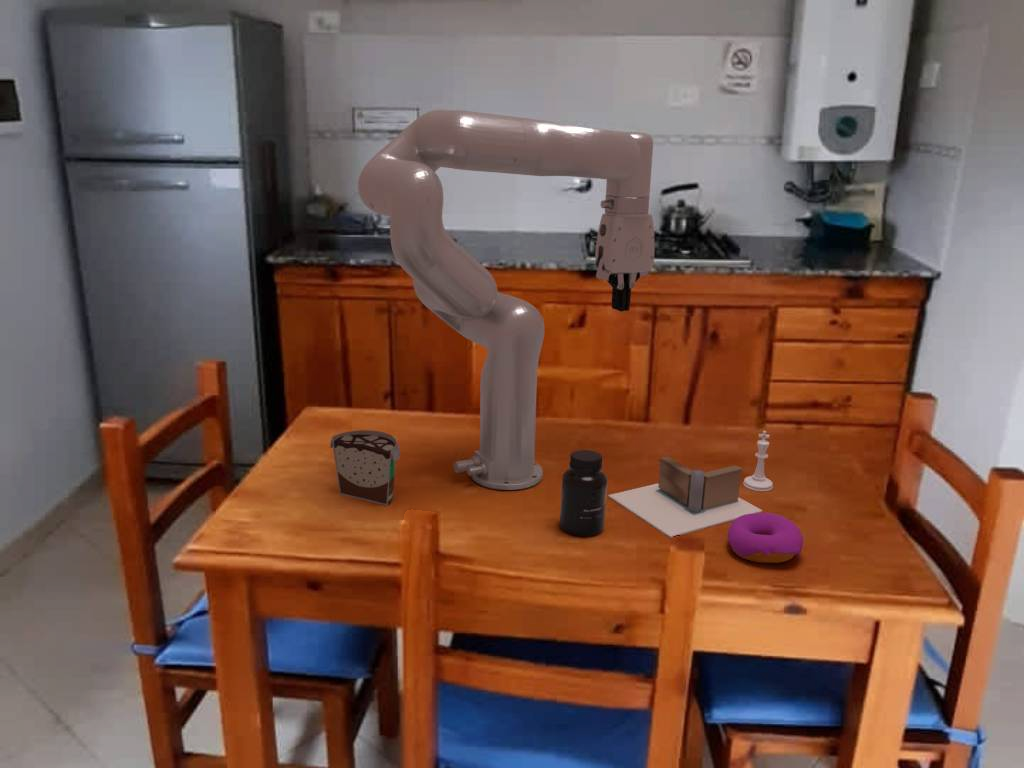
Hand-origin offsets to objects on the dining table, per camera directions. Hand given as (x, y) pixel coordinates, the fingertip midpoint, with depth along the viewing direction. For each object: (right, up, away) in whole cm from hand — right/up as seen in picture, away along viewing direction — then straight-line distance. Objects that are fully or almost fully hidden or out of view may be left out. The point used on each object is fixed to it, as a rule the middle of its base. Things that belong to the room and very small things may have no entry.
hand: (620, 309), depth 152 cm
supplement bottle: (-9, -36, -22) cm, 43 cm away
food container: (-43, -32, -12) cm, 54 cm away
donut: (+17, -38, -28) cm, 51 cm away
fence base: (+9, -33, -14) cm, 37 cm away
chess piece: (+23, -31, -6) cm, 39 cm away
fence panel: (+7, -32, -13) cm, 35 cm away
